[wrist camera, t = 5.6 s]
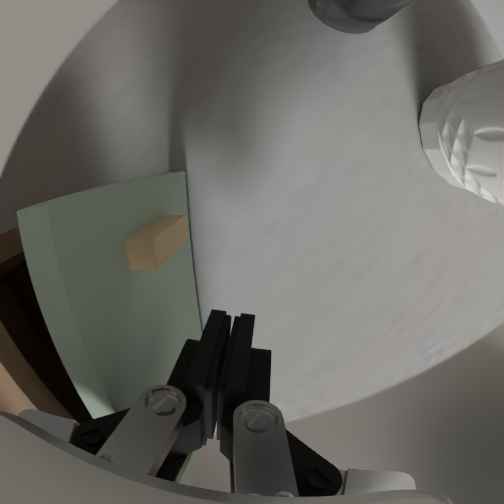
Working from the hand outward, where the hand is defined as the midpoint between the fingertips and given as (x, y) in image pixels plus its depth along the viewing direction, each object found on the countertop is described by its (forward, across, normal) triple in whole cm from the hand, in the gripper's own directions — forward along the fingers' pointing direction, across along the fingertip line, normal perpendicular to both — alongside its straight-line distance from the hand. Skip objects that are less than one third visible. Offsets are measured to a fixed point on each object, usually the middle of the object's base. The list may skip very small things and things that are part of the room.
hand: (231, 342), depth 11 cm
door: (+6, +3, +2) cm, 7 cm away
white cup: (+7, -12, -11) cm, 18 cm away
